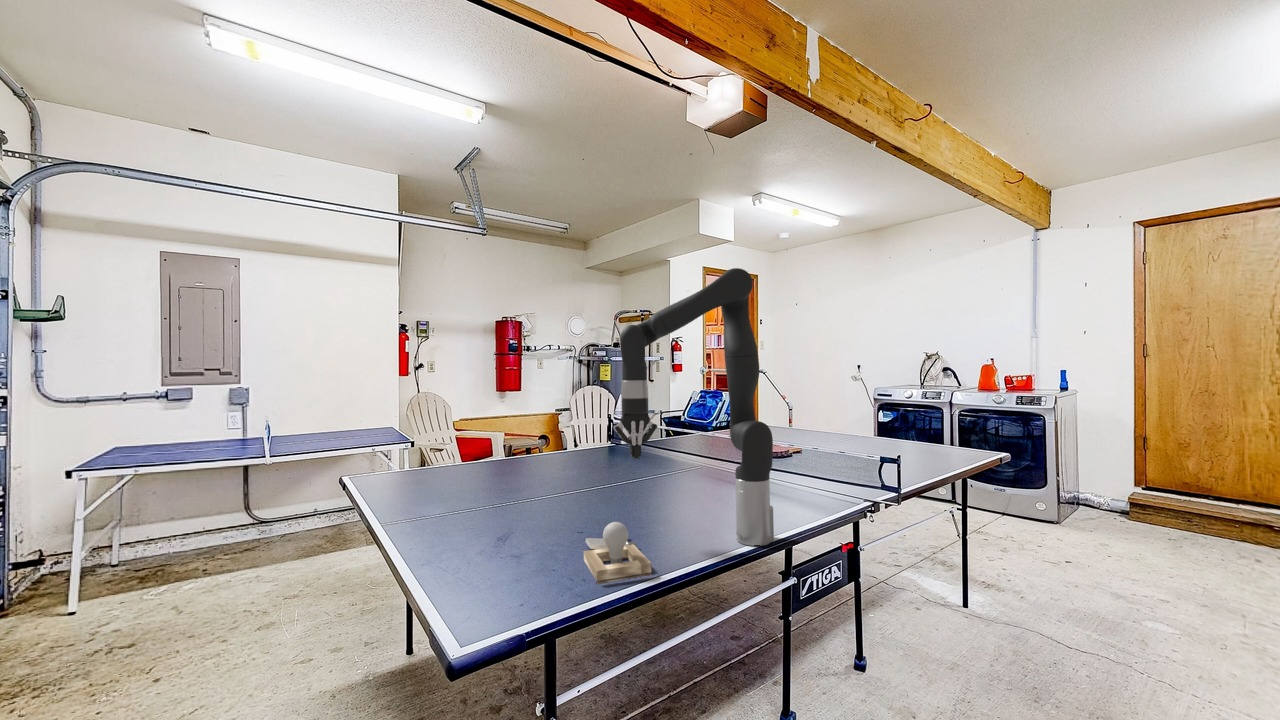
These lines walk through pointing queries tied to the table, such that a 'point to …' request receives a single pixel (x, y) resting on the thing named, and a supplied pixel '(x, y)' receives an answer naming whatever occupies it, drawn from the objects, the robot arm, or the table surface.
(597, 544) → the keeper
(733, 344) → the robot arm
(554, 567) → the table surface
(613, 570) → the socket
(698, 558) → the table surface
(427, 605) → the table surface
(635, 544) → the keeper bracket
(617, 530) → the lightbulb
